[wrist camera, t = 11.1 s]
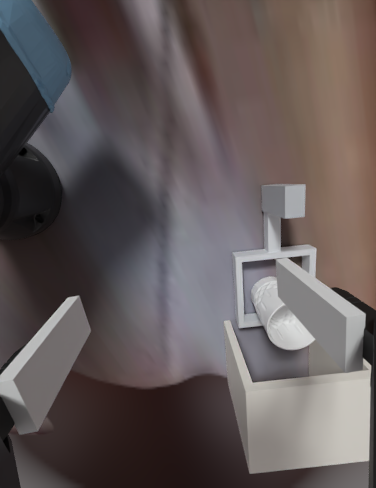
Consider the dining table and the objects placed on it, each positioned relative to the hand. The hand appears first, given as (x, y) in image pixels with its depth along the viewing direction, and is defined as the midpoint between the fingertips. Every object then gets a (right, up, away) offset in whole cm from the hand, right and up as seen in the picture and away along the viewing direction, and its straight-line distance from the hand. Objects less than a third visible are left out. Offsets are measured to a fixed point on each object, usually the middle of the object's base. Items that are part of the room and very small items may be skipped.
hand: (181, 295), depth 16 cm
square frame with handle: (+14, +1, +25) cm, 29 cm away
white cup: (+15, -5, +27) cm, 31 cm away
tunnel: (+16, -17, +30) cm, 38 cm away
